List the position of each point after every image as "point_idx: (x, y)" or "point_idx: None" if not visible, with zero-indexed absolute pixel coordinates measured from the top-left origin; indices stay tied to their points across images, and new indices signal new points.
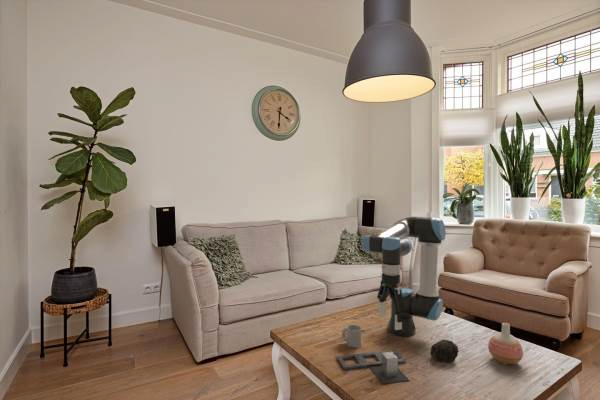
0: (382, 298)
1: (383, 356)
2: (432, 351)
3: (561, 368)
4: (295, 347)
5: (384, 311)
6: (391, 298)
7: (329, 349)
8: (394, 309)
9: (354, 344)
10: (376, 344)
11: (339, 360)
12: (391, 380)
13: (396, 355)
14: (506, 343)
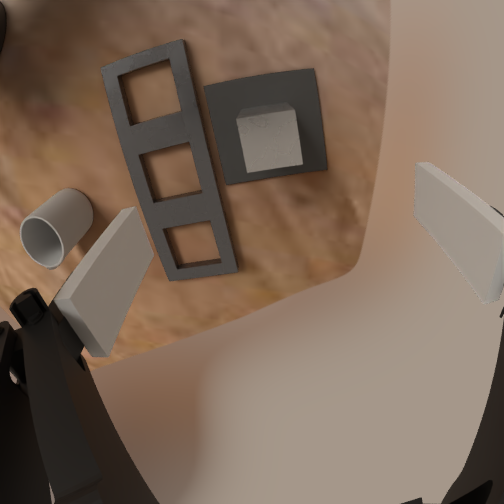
0: (96, 396)
1: (268, 167)
2: None
3: None
4: (132, 353)
5: (123, 246)
6: (460, 478)
7: None
8: None
9: (88, 218)
10: (57, 131)
11: (195, 277)
12: (313, 134)
13: (139, 67)
14: None
